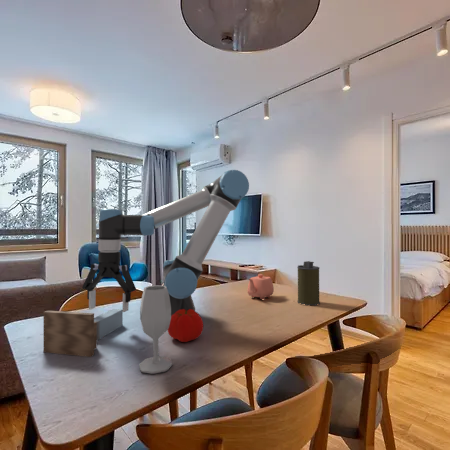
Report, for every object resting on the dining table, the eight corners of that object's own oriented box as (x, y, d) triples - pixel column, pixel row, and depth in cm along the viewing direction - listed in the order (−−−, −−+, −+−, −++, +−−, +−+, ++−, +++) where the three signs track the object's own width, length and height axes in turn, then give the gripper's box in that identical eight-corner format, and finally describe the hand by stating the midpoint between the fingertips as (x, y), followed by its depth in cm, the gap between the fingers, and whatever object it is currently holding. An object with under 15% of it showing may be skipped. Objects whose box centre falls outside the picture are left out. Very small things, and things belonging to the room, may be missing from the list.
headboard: (103, 348, 89) (103, 309, 89) (90, 356, 83) (90, 314, 84) (58, 344, 92) (58, 306, 92) (43, 352, 87) (43, 311, 87)
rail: (122, 325, 110) (122, 309, 110) (97, 340, 96) (97, 322, 96) (112, 324, 111) (112, 308, 111) (86, 339, 97) (86, 321, 97)
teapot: (260, 292, 164) (260, 271, 164) (279, 295, 156) (279, 273, 156) (239, 299, 148) (239, 276, 148) (258, 303, 141) (258, 278, 141)
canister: (324, 303, 140) (324, 261, 140) (310, 306, 134) (309, 263, 134) (306, 298, 149) (306, 259, 149) (292, 302, 143) (292, 261, 143)
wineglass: (142, 360, 81) (142, 284, 81) (174, 358, 82) (173, 284, 82) (135, 375, 73) (135, 291, 73) (170, 374, 73) (170, 290, 73)
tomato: (170, 332, 102) (170, 307, 102) (205, 333, 102) (204, 307, 102) (163, 345, 91) (163, 316, 92) (201, 345, 91) (201, 316, 91)
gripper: (145, 251, 107) (145, 309, 107) (86, 249, 112) (85, 304, 112) (135, 253, 100) (134, 315, 100) (72, 251, 105) (71, 310, 105)
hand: (108, 309), depth 106 cm, fingers open, 13 cm apart
